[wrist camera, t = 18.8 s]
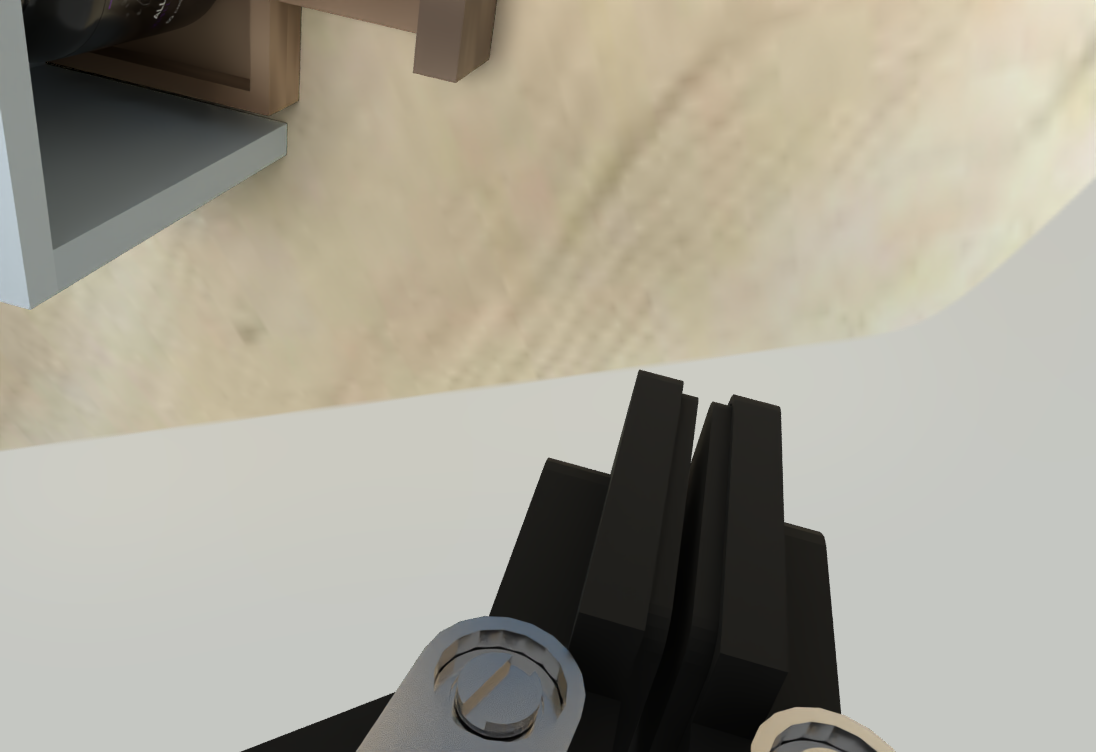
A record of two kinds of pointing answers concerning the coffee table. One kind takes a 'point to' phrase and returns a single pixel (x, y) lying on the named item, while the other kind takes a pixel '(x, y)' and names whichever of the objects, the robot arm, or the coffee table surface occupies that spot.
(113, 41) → the supplement bottle
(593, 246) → the coffee table surface
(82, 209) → the shelf
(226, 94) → the paddle tray
